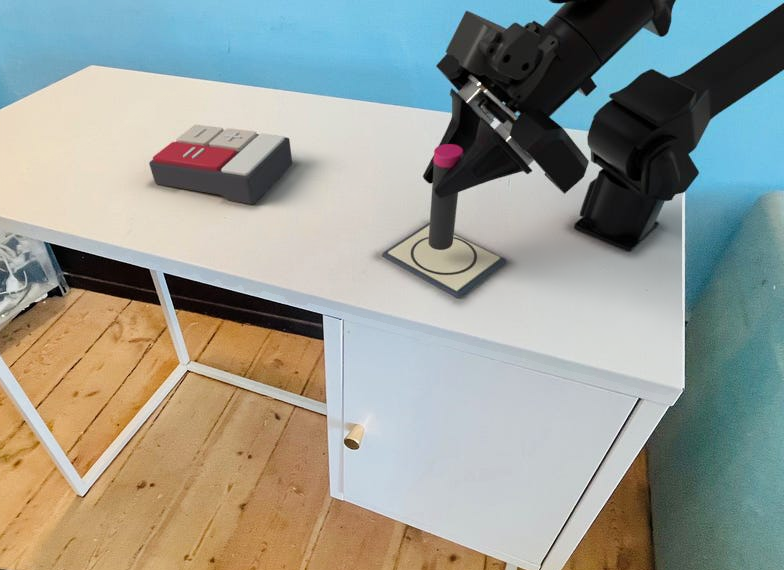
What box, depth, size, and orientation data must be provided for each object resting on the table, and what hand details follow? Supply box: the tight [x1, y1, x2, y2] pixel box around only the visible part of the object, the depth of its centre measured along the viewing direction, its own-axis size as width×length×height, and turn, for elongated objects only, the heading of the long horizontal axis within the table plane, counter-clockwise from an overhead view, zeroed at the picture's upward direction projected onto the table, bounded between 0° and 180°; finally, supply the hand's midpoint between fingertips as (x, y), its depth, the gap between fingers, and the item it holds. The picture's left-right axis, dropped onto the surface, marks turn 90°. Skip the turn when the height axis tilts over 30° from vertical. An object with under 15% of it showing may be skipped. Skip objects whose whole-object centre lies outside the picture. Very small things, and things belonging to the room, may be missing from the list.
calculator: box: [148, 124, 293, 205], centre depth 73 cm, size 11×4×15 cm
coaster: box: [381, 222, 507, 299], centre depth 60 cm, size 10×8×1 cm
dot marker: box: [428, 144, 463, 250], centre depth 54 cm, size 2×2×10 cm
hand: (431, 187), depth 52 cm, fingers closed on dot marker, 2 cm apart
